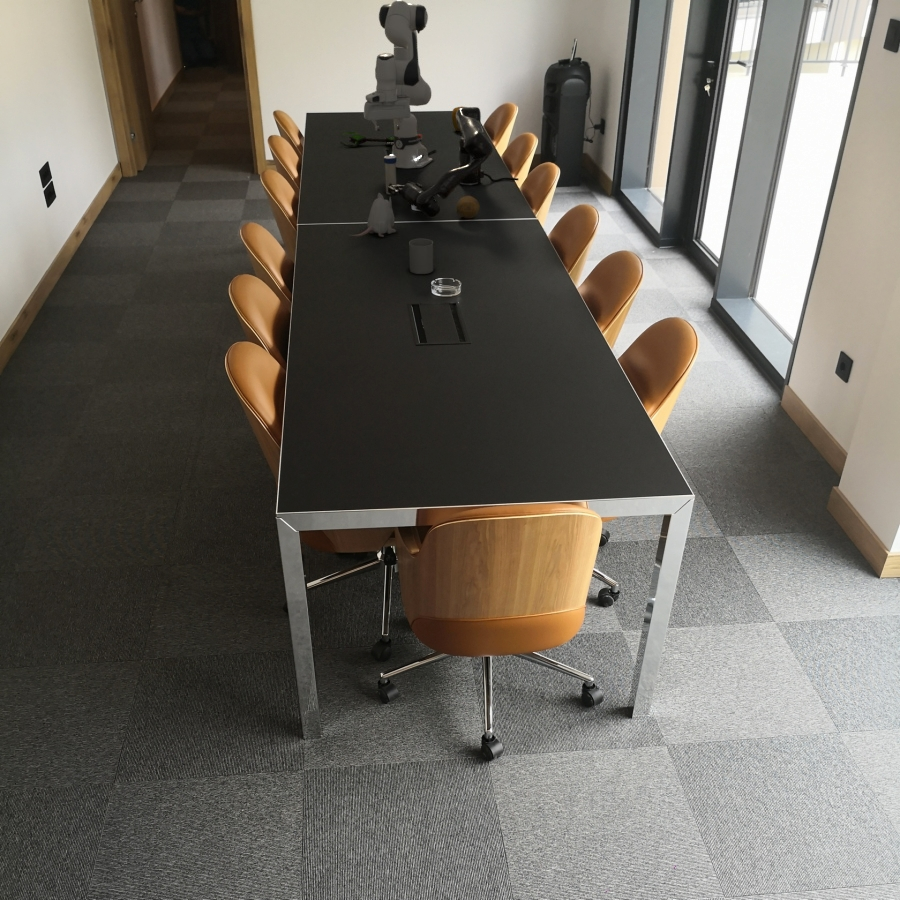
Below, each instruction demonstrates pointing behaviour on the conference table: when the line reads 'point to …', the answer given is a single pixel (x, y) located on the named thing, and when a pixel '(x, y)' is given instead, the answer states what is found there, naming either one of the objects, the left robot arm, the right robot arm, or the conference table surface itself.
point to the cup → (421, 256)
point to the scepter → (363, 139)
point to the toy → (380, 217)
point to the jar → (390, 175)
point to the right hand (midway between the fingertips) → (399, 184)
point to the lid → (390, 159)
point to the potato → (467, 207)
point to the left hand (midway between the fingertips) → (387, 130)
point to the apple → (455, 118)
